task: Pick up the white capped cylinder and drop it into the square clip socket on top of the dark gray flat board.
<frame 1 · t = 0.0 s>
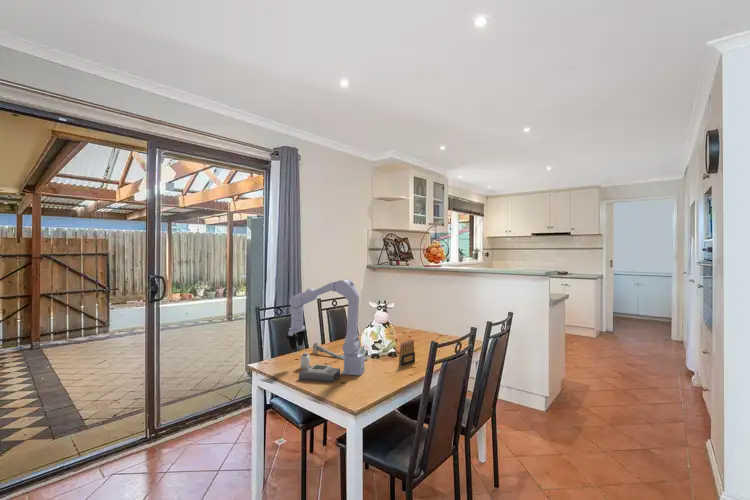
hand: (296, 347, 176), 10 cm above the table, tool pointing down, fingers open, 7 cm apart
white capped cylinder: (305, 367, 176), on the table
metal bracket: (355, 356, 196), on the table, touching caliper
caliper: (326, 356, 197), on the table, touching metal bracket
ammunition clip: (407, 363, 184), on the table
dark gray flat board: (319, 377, 162), on the table
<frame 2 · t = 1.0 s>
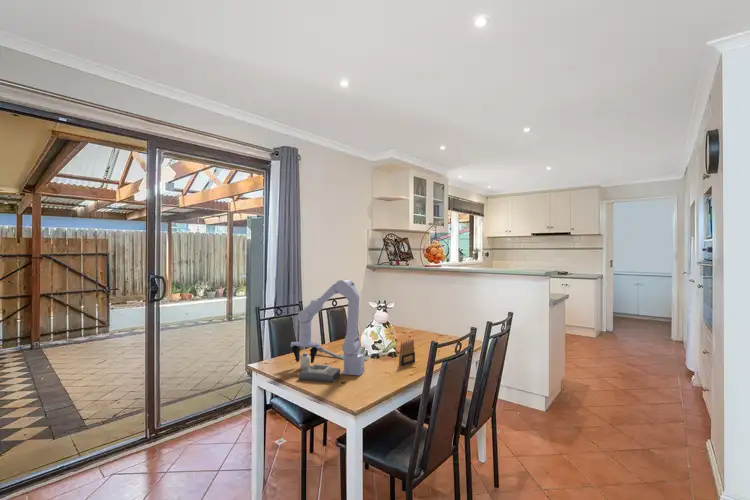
hand: (305, 362, 176), 3 cm above the table, tool pointing down, fingers open, 7 cm apart
metal bracket: (356, 356, 196), on the table
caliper: (326, 356, 197), on the table
everything else where it was.
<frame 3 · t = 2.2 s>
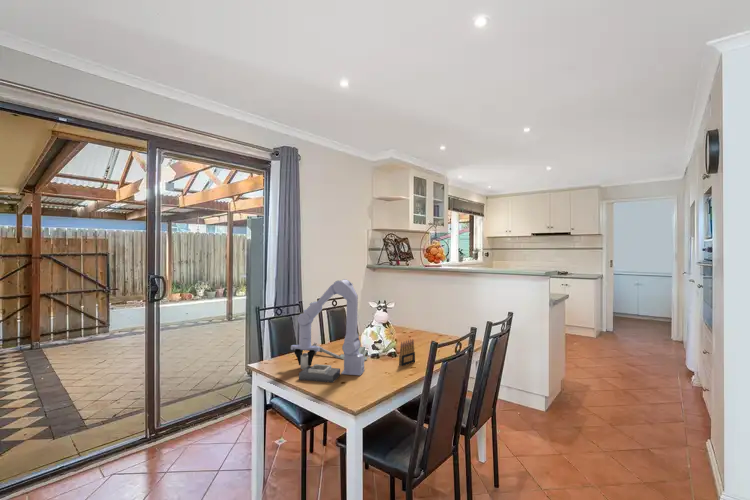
hand: (305, 365, 176), 1 cm above the table, tool pointing down, fingers closed on white capped cylinder, 4 cm apart
white capped cylinder: (305, 367, 176), on the table, touching gripper
everything else where it was.
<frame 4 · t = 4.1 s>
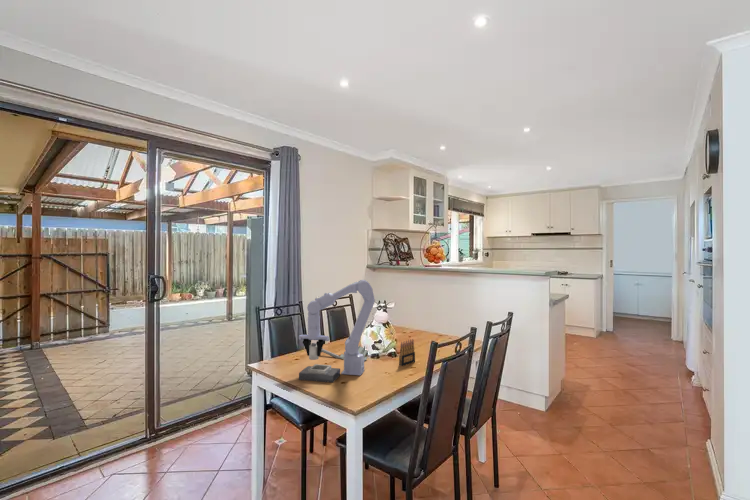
hand: (313, 355, 168), 8 cm above the table, tool pointing down, fingers closed on white capped cylinder, 4 cm apart
white capped cylinder: (313, 358, 168), point 7 cm above the table, touching gripper
metal bracket: (356, 357, 195), on the table, touching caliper
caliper: (326, 356, 197), on the table, touching metal bracket
everything else where it was.
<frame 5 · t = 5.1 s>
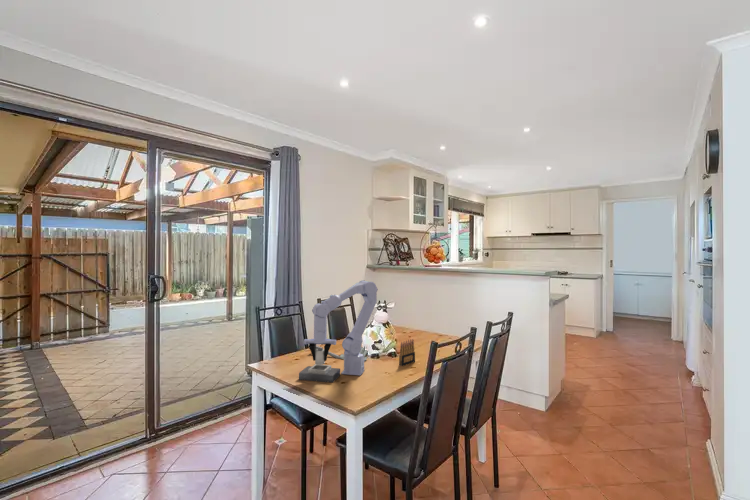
hand: (320, 360, 162), 8 cm above the table, tool pointing down, fingers closed on white capped cylinder, 4 cm apart
white capped cylinder: (320, 363, 163), point 6 cm above the table, touching gripper
metal bracket: (356, 357, 195), on the table
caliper: (326, 356, 197), on the table
everything else where it was.
when the fingers open (5 cm above the table, at t = 6.0 s): white capped cylinder stays where it is, resting on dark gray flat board.
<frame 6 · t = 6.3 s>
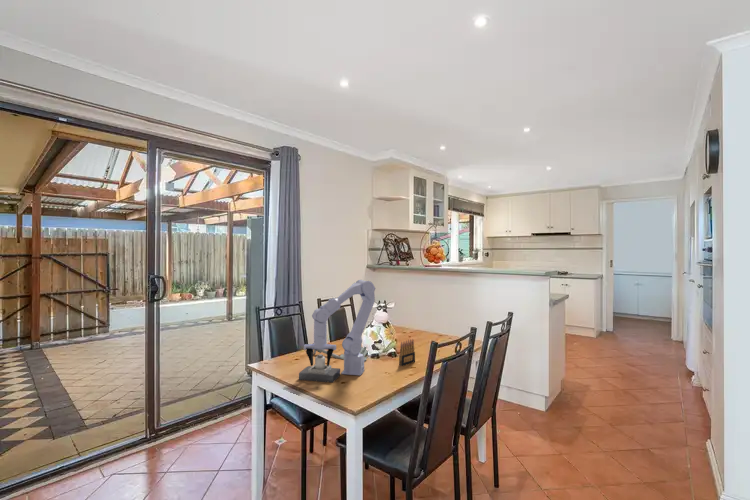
hand: (320, 365, 162), 5 cm above the table, tool pointing down, fingers open, 7 cm apart
white capped cylinder: (320, 370, 163), point 3 cm above the table, touching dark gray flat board
everything else where it was.
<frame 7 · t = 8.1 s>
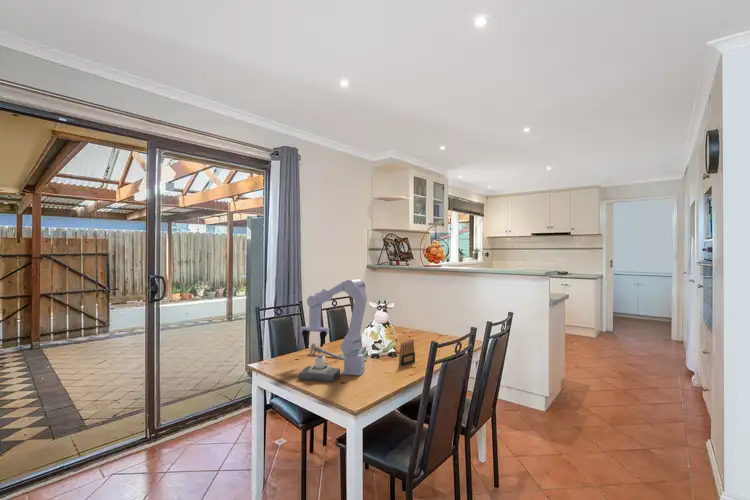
hand: (314, 345, 181), 10 cm above the table, tool pointing down, fingers open, 7 cm apart
nothing on the table moved.
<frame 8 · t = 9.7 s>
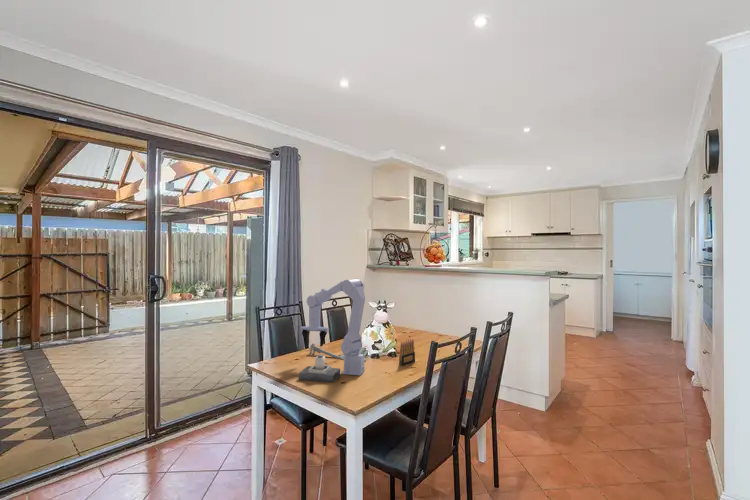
hand: (314, 345, 182), 9 cm above the table, tool pointing down, fingers open, 7 cm apart
metal bracket: (356, 357, 195), on the table, touching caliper
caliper: (325, 357, 196), on the table, touching metal bracket
everything else where it was.
at the end: white capped cylinder 0.2 cm off-centre on the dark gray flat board, point 3.0 cm above the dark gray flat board's base; white capped cylinder tilted 1°; the gripper is holding nothing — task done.
